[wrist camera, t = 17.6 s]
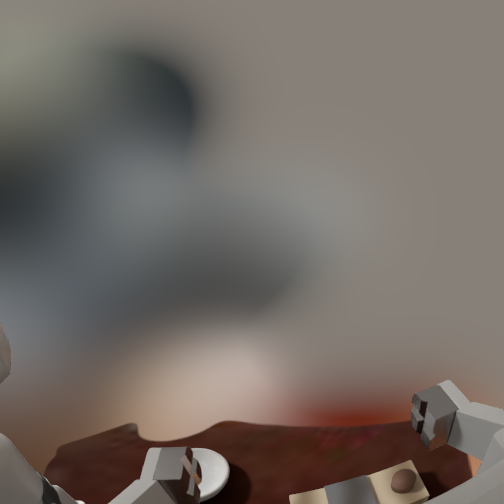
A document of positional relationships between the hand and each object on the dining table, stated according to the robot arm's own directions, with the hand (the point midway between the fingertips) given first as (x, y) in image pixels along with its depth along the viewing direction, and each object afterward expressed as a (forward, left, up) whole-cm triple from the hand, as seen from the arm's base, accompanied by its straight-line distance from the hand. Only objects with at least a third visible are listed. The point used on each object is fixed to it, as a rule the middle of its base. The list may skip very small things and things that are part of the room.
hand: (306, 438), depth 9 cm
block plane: (+6, +12, -34) cm, 37 cm away
